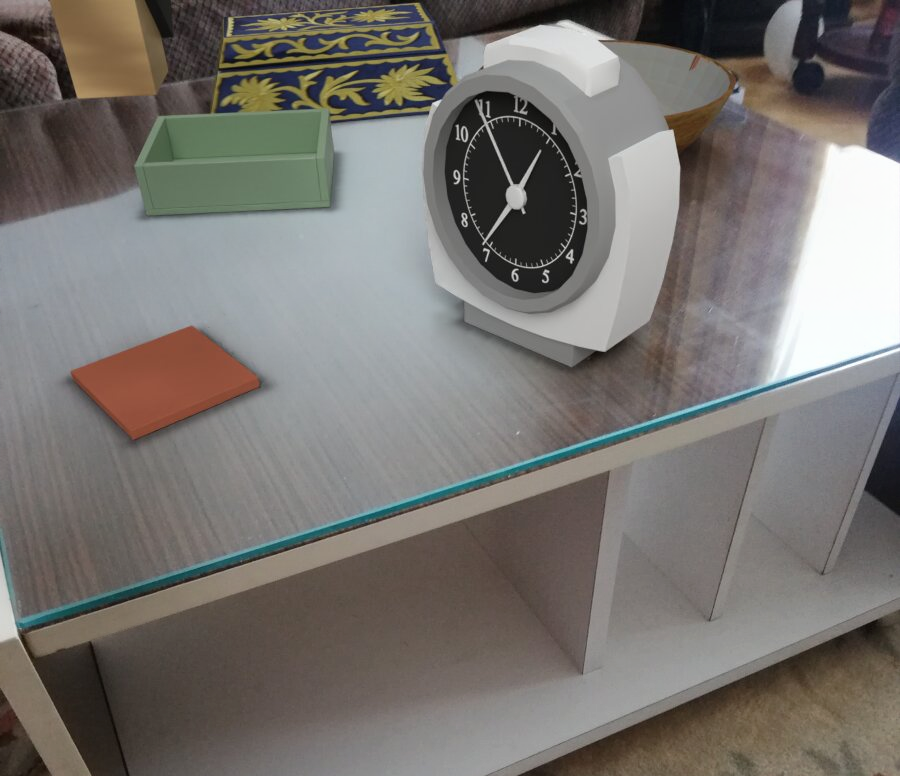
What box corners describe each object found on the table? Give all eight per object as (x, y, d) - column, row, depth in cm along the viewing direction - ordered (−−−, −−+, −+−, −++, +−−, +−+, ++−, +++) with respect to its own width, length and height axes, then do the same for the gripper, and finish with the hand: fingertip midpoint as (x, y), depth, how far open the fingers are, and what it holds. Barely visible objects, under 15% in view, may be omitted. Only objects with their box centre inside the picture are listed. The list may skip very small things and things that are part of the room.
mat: (73, 380, 68) (69, 370, 67) (194, 334, 72) (191, 324, 71) (133, 440, 62) (130, 430, 62) (260, 386, 66) (258, 377, 66)
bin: (146, 216, 88) (133, 166, 85) (168, 162, 97) (157, 115, 94) (330, 207, 88) (324, 157, 85) (334, 154, 98) (329, 108, 95)
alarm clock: (416, 314, 73) (400, 24, 59) (485, 275, 78) (486, -3, 63) (601, 394, 65) (636, 78, 50) (667, 346, 69) (716, 42, 55)
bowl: (429, 152, 98) (425, 68, 92) (612, 104, 107) (619, 25, 101) (574, 235, 83) (581, 141, 77) (773, 171, 92) (793, 83, 86)
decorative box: (468, 110, 107) (468, 21, 100) (208, 133, 103) (190, 43, 97) (451, 81, 114) (449, -3, 108) (207, 102, 111) (190, 16, 104)
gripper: (-287, -240, 37) (-12, 82, 60) (164, -257, 37) (263, 69, 61) (-300, -428, 37) (-20, -32, 60) (152, -442, 37) (256, -44, 61)
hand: (122, 18), depth 60 cm, fingers closed on block, 5 cm apart
